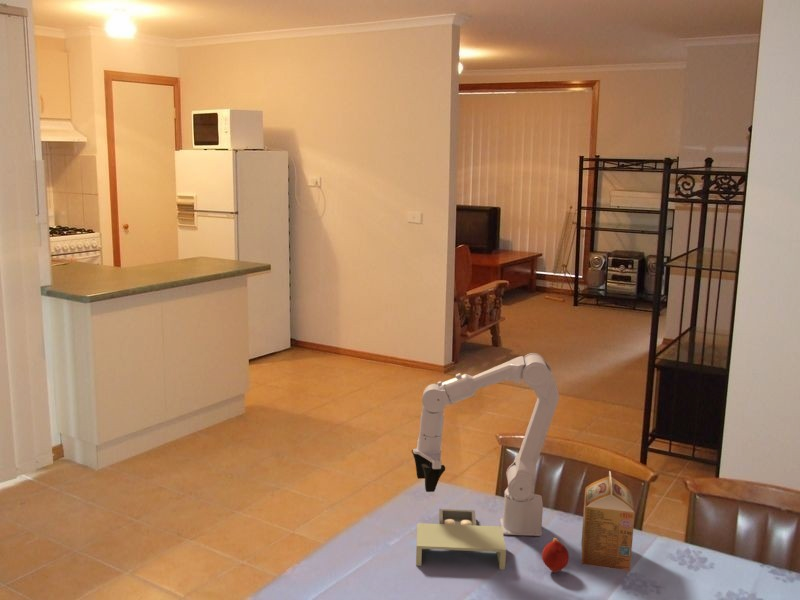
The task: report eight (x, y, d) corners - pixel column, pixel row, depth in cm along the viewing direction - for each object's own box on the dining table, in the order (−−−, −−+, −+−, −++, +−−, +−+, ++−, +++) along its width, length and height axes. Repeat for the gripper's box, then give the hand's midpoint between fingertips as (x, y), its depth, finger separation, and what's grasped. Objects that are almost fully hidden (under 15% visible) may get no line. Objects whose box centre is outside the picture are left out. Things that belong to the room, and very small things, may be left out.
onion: (569, 567, 173) (571, 534, 172) (565, 580, 168) (568, 546, 166) (543, 562, 175) (545, 530, 174) (539, 575, 170) (541, 542, 168)
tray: (474, 519, 196) (474, 508, 196) (476, 541, 185) (477, 529, 185) (439, 518, 196) (439, 507, 196) (439, 539, 186) (439, 527, 185)
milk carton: (629, 570, 173) (636, 491, 169) (581, 564, 175) (587, 486, 171) (626, 548, 183) (633, 473, 179) (581, 542, 185) (586, 468, 182)
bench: (500, 545, 183) (501, 526, 182) (505, 569, 172) (506, 549, 171) (416, 541, 183) (417, 523, 182) (415, 565, 172) (416, 545, 172)
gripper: (407, 422, 195) (402, 472, 197) (423, 444, 181) (418, 497, 183) (434, 422, 197) (429, 472, 199) (451, 444, 183) (446, 497, 185)
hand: (425, 484), depth 191 cm, fingers open, 7 cm apart
